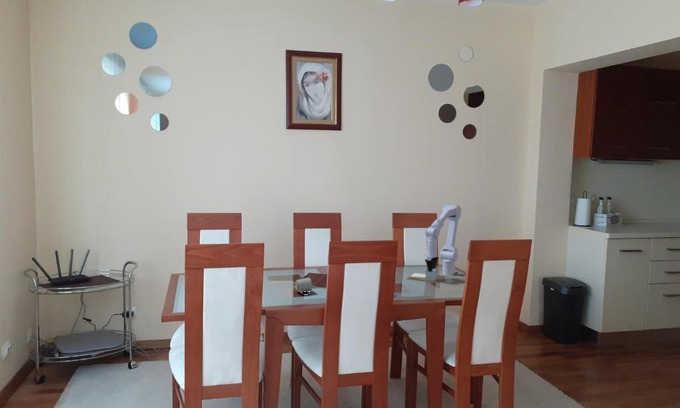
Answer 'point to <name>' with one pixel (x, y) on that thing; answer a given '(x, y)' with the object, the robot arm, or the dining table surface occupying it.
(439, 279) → the board
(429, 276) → the light blue cube
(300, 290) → the ceramic mug
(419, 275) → the pad
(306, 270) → the dining table surface
